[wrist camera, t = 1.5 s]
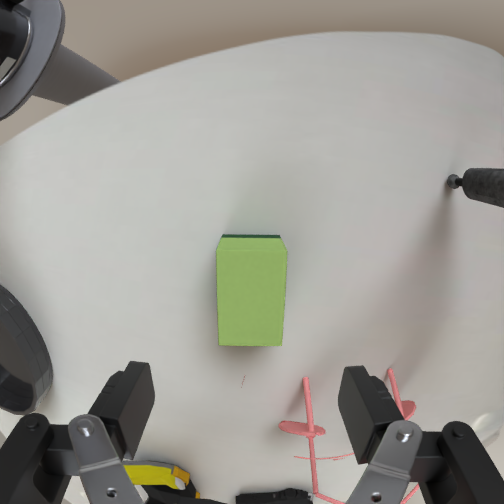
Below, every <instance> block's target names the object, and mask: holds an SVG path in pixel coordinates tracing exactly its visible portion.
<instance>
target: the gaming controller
mask: <svg viewBox="0 0 504 504" xmlns="http://www.w3.org/2000/svg"><path fill="white" fill-rule="evenodd" d="M122 464H123V466H124V468H125V470H126V472H127V474H128V475H129V477H130V479H131V481H132V483H133V485H141V486H142V487H143V488H144V490H145V491H146V493H147V494H148V496H149V497H148V499H147V500H146V502H145V503H144V504H178V499H179V496H181V497H190V498H199V499H200V493H198V492H197V491H196V489H195V487H194V486H193V484H192V482H191V480H190V478H189V477H190V474H189V473H188V472H185V471H183V470H182V469H180V468H179V467H177V466H175V465H171V464H166V463H161V462H152V461H123V462H122Z"/></svg>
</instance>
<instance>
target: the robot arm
mask: <svg viewBox="0 0 504 504" xmlns="http://www.w3.org/2000/svg"><path fill="white" fill-rule="evenodd" d="M23 1H24V0H0V88H2V87H3V86H4V85H6V84H7V83H8V82H9V81H10V80H11V79H12V78H13V76H14V75H15V74H16V73H17V71H18V70H19V68H20V67H21V65H22V64H23V62H24V60H25V58H26V56H27V54H28V52H29V50H30V47H31V44H32V41H33V36H34V24H33V21H32V19H31V18H30V14H31V10H29V9H27V8H26V7H24V6H22V5H21V4H19V3H21V2H23ZM154 400H155V391H154V386H153V381H152V375H151V370H150V365H149V363H145V362H136V361H130V362H129V364H128V366H127V367H126V369H125V371H118V372H116V373H115V374H114V375H112V376H111V377H110V378H109V380H108V381H107V383H106V384H105V386H104V388H103V389H102V391H101V393H100V394H99V396H98V397H97V399H96V401H95V402H94V404H93V406H92V407H91V409H90V411H89V412H88V414H84V415H80V416H77V417H75V418H74V419H72V420H71V422H70V423H69V425H55V424H50V423H49V421H48V419H47V418H46V417H45V416H44V415H42V414H39V413H31V414H27V415H25V416H23V417H22V418H21V419H20V420H19V422H18V423H17V425H16V426H15V427H14V429H13V430H12V432H11V433H10V435H9V436H8V438H7V440H6V441H5V443H4V444H3V446H2V447H1V449H0V504H61V502H62V499H63V497H64V494H65V492H66V489H67V487H68V484H69V482H70V479H71V477H72V476H80V479H81V481H82V484H83V487H84V490H85V492H86V495H87V497H88V500H89V502H90V504H144V502H143V500H142V499H141V497H140V495H139V494H138V492H137V490H136V488H135V487H134V485H133V483H132V481H131V479H130V477H129V475H128V474H127V472H126V470H125V468H124V466H123V464H122V461H123V458H125V459H130V460H133V458H134V456H135V453H136V450H137V448H138V445H139V442H140V439H141V437H142V434H143V431H144V429H145V426H146V423H147V421H148V418H149V415H150V413H151V410H152V408H153V405H154ZM338 406H339V410H340V413H341V416H342V419H343V421H344V424H345V427H346V430H347V433H348V436H349V439H350V442H351V445H352V448H353V451H354V454H355V457H356V460H357V463H358V465H359V464H365V463H368V466H367V468H366V470H365V472H364V473H363V475H362V477H361V479H360V480H359V482H358V484H357V486H356V487H355V489H354V491H353V492H352V494H351V496H350V497H349V499H348V500H347V502H346V504H400V503H401V501H402V499H403V496H404V494H405V491H406V489H407V487H408V484H409V482H418V484H419V487H420V489H421V492H422V495H423V498H424V500H425V503H426V504H504V480H503V478H502V477H501V475H500V473H499V472H498V470H497V468H496V467H495V465H494V463H493V461H492V460H491V458H490V456H489V455H488V453H487V452H486V450H485V448H484V447H483V445H482V443H481V442H480V440H479V439H478V437H477V436H476V434H475V432H474V431H473V429H472V428H471V427H470V426H469V425H467V424H466V423H463V422H460V421H453V422H449V423H447V424H446V425H445V426H444V428H443V430H442V432H426V431H422V430H421V428H420V427H419V426H418V425H417V424H415V423H414V422H411V421H407V420H405V419H404V417H403V415H402V414H401V412H400V410H399V408H398V407H397V405H396V403H395V401H394V400H393V398H392V396H391V394H390V393H389V392H388V389H387V388H386V386H385V384H384V382H382V381H381V380H380V379H378V378H377V377H376V376H369V374H368V372H367V371H366V369H365V367H364V366H363V365H362V366H350V367H345V369H344V372H343V377H342V381H341V386H340V390H339V395H338ZM178 504H226V503H222V502H218V501H214V500H211V499H199V498H190V497H181V496H179V499H178ZM265 504H309V499H298V500H281V501H274V502H269V503H265Z"/></svg>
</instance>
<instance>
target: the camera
mask: <svg viewBox="0 0 504 504" xmlns="http://www.w3.org/2000/svg"><path fill="white" fill-rule="evenodd" d="M312 498H313V494H312V493H308V492H307V491H303V490H299V489H298V490H294V489H291V488H290V489H287V490H286V491H281V492H276V493H261V494H240V496H236V504H265V503H269V502H274V501H281V500H298V499H309V504H313V502H312Z"/></svg>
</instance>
